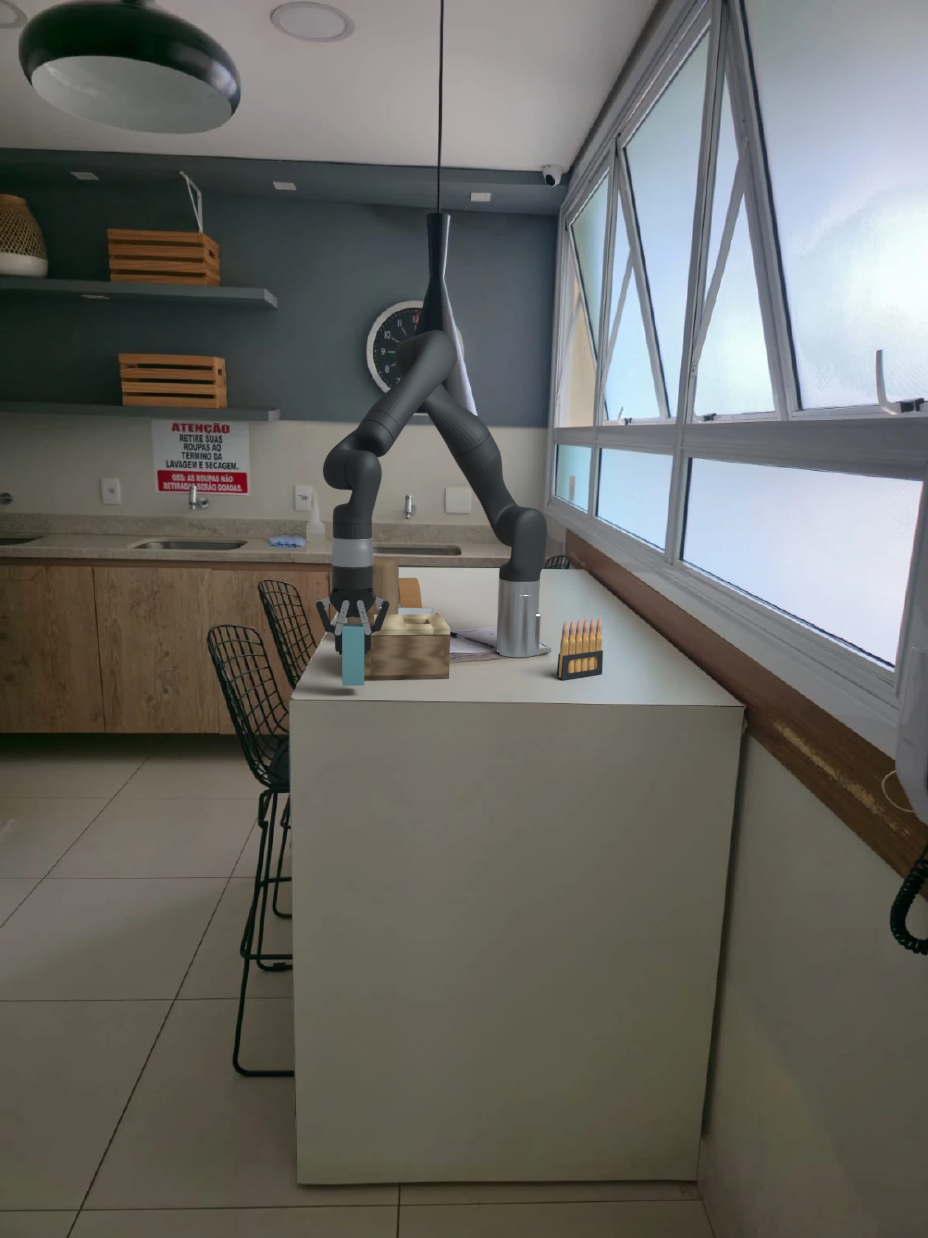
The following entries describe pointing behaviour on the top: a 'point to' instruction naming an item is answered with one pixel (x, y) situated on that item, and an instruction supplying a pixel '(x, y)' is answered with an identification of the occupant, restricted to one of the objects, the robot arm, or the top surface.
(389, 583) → the wooden block
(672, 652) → the top surface
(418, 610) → the soap dish
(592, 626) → the ammunition clip
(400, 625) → the lid
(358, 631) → the teal block
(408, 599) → the arch
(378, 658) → the wooden box
